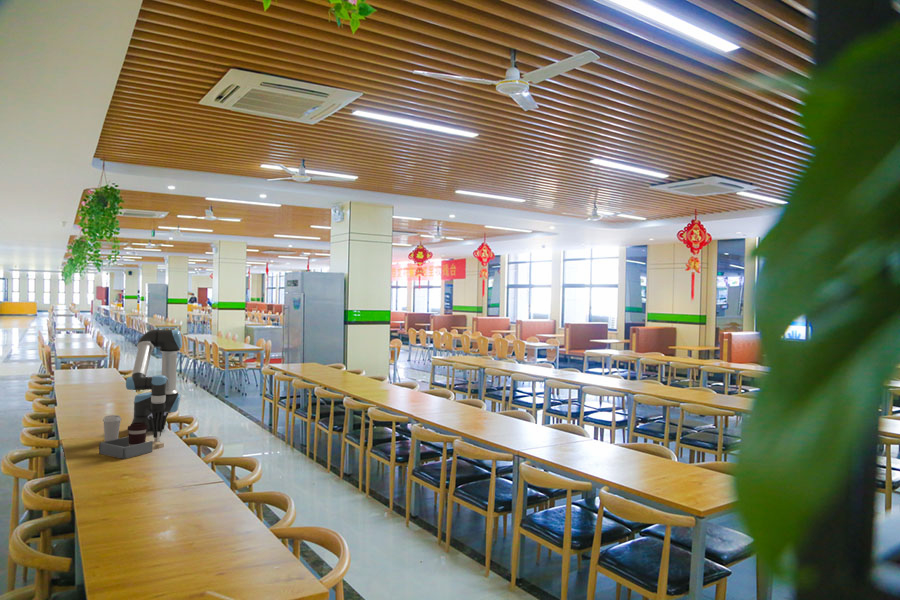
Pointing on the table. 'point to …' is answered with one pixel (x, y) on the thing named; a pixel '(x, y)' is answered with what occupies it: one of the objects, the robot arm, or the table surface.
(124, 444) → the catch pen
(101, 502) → the table surface
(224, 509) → the table surface
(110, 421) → the coffee cup
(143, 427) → the coffee cup
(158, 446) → the board
